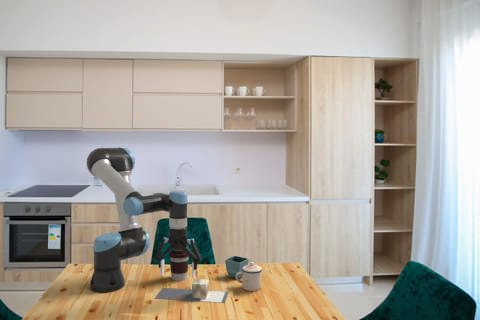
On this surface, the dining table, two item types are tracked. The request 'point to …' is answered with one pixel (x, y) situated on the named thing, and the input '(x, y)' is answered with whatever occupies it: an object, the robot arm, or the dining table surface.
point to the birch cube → (200, 288)
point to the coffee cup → (178, 264)
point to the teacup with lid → (251, 277)
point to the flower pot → (235, 266)
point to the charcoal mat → (187, 295)
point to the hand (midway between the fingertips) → (177, 276)
